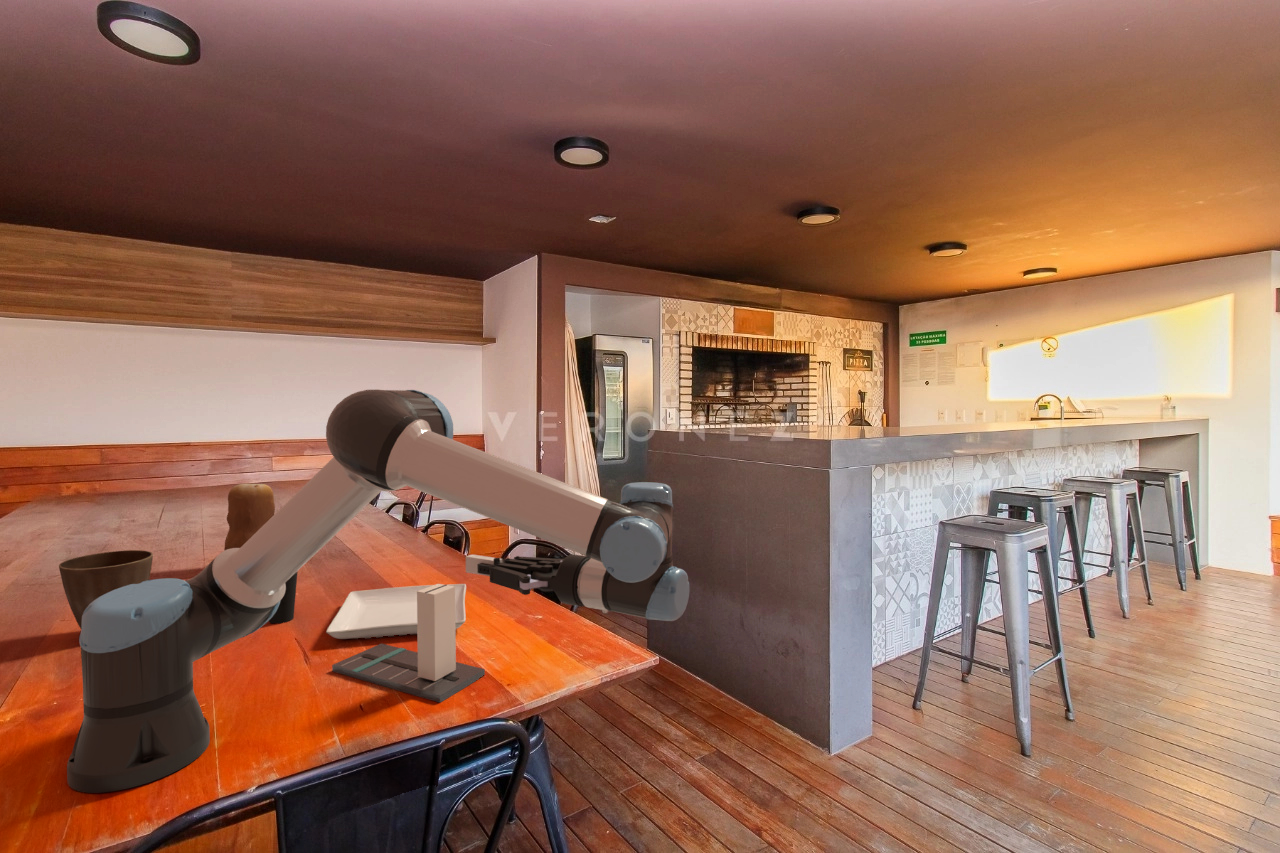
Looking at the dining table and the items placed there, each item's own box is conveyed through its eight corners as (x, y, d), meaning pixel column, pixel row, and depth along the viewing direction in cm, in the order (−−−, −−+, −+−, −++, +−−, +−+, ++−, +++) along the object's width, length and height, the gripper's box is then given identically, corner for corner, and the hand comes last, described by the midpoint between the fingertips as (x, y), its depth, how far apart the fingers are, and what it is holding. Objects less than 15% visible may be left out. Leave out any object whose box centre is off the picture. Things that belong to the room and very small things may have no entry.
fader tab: (455, 669, 109) (455, 586, 108) (435, 681, 104) (434, 594, 104) (438, 665, 110) (438, 583, 110) (417, 676, 106) (416, 590, 105)
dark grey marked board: (484, 675, 110) (484, 668, 110) (440, 702, 100) (439, 694, 100) (381, 649, 121) (381, 642, 121) (332, 671, 111) (332, 664, 111)
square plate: (324, 649, 122) (324, 630, 122) (350, 605, 148) (350, 589, 148) (465, 636, 129) (465, 618, 129) (466, 596, 155) (466, 581, 155)
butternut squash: (276, 559, 189) (274, 479, 188) (284, 568, 179) (282, 483, 178) (222, 566, 180) (220, 482, 179) (227, 576, 170) (225, 487, 169)
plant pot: (172, 624, 134) (170, 552, 133) (95, 651, 119) (93, 571, 119) (122, 618, 138) (120, 548, 137) (42, 643, 123) (39, 565, 123)
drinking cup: (282, 627, 132) (281, 536, 132) (253, 624, 134) (251, 534, 133) (308, 615, 140) (307, 529, 139) (280, 612, 141) (278, 527, 141)
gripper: (565, 619, 87) (440, 596, 98) (609, 593, 99) (494, 575, 109) (565, 568, 87) (440, 549, 97) (609, 548, 99) (493, 533, 109)
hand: (468, 563), depth 103 cm, fingers closed
